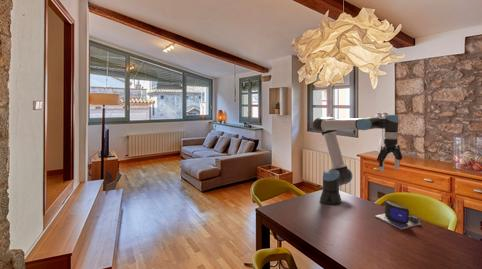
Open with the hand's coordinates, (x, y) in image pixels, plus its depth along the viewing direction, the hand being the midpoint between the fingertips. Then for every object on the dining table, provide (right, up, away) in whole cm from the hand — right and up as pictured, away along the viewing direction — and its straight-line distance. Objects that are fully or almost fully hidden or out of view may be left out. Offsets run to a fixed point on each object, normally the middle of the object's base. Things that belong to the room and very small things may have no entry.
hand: (389, 170), depth 172 cm
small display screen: (-1, -29, -9) cm, 31 cm away
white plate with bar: (-1, -30, -10) cm, 32 cm away
